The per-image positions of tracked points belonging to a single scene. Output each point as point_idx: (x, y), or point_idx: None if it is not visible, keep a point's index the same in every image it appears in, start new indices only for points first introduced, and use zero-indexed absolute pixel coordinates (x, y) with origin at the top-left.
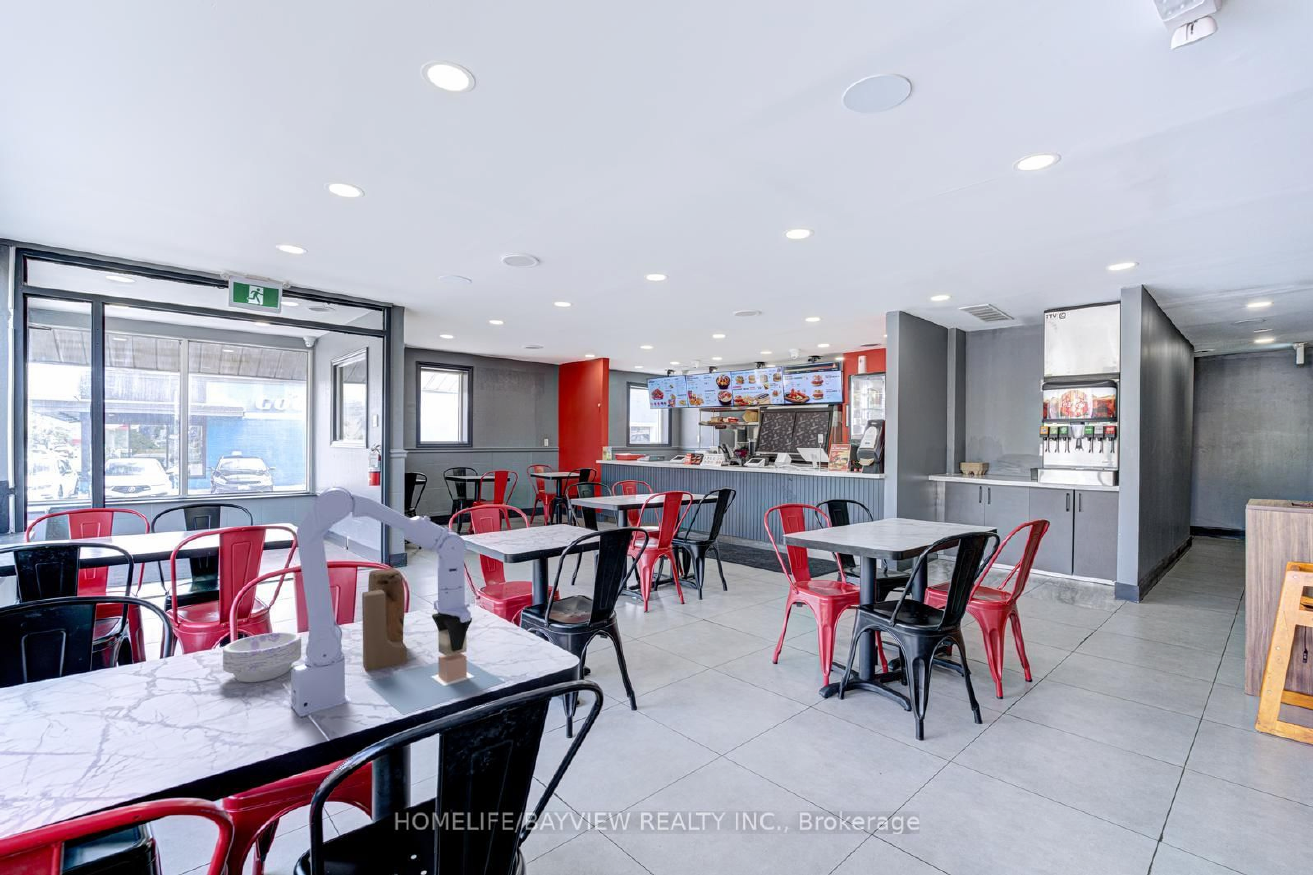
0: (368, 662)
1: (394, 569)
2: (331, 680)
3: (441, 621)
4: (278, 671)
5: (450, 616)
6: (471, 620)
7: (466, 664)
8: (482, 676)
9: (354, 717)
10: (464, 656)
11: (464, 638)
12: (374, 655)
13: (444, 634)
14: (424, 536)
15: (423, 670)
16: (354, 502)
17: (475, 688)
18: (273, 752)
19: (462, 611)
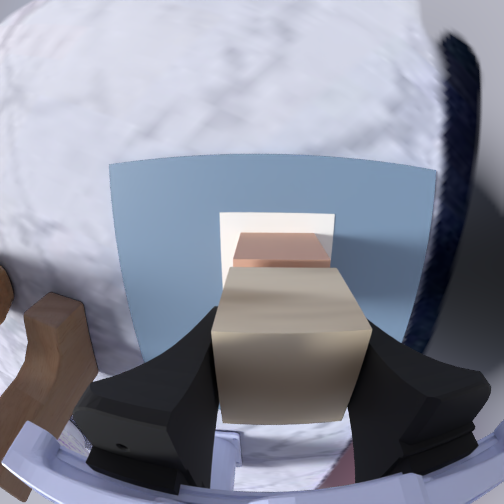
0: (88, 384)
1: None
2: (233, 484)
3: (208, 456)
4: (74, 432)
5: (195, 443)
6: (485, 379)
7: (323, 248)
8: (350, 191)
9: (301, 437)
10: (323, 265)
11: (382, 330)
12: (79, 385)
13: (305, 422)
14: None
15: (157, 303)
16: None
17: (408, 255)
18: (315, 476)
19: (493, 487)
